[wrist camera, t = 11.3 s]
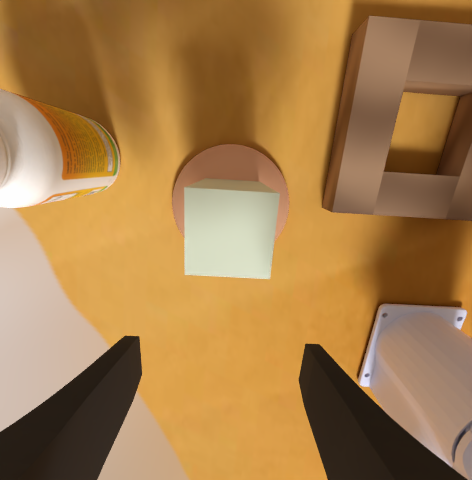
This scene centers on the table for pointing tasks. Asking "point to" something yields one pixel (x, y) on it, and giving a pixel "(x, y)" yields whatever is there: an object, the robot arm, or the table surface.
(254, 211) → the peg
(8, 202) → the supplement bottle
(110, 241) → the table surface
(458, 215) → the block
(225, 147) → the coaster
